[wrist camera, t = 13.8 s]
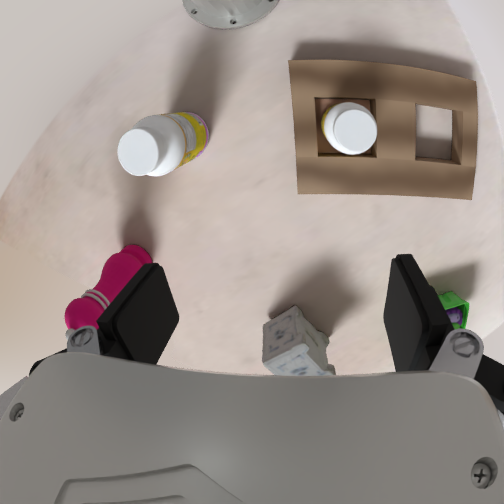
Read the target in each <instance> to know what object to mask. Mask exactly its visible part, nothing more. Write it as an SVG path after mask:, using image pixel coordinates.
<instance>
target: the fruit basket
mask: <svg viewBox="0 0 504 504" xmlns="http://www.w3.org/2000/svg"><path fill="white" fill-rule="evenodd" d="M438 297H439V299H440V301H441V303H442V305H443V307H444V309H445V311H446V312H447V314H448V317H449V319H450V321H451V323H452V325H453V327H454V329H465V327H466V322H467V317H468V311H469V303H468V302H466V301H465V300H462V299H461V298H460V297H458V296H457V295H456V294H454V293H453V292H448V293H445V294H443V295H438Z"/></svg>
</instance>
